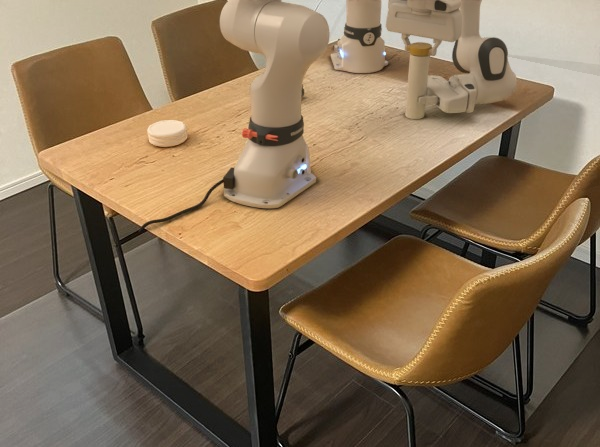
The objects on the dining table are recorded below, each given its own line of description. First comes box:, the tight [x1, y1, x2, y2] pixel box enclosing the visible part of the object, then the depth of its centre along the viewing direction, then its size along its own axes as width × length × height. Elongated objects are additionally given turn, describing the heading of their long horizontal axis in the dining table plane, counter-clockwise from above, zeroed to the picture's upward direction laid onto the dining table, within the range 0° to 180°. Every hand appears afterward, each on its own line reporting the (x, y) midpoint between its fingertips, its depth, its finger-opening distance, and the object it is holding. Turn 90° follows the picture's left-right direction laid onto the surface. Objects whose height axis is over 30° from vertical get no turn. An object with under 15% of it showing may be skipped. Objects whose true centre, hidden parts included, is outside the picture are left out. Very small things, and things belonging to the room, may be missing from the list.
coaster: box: [146, 119, 188, 148], centre depth 160 cm, size 10×10×4 cm
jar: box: [404, 53, 431, 120], centre depth 168 cm, size 5×5×19 cm
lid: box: [408, 41, 433, 56], centre depth 163 cm, size 6×6×2 cm
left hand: (420, 53), depth 163 cm, fingers closed on lid, 5 cm apart
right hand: (413, 95), depth 169 cm, fingers closed on jar, 5 cm apart
